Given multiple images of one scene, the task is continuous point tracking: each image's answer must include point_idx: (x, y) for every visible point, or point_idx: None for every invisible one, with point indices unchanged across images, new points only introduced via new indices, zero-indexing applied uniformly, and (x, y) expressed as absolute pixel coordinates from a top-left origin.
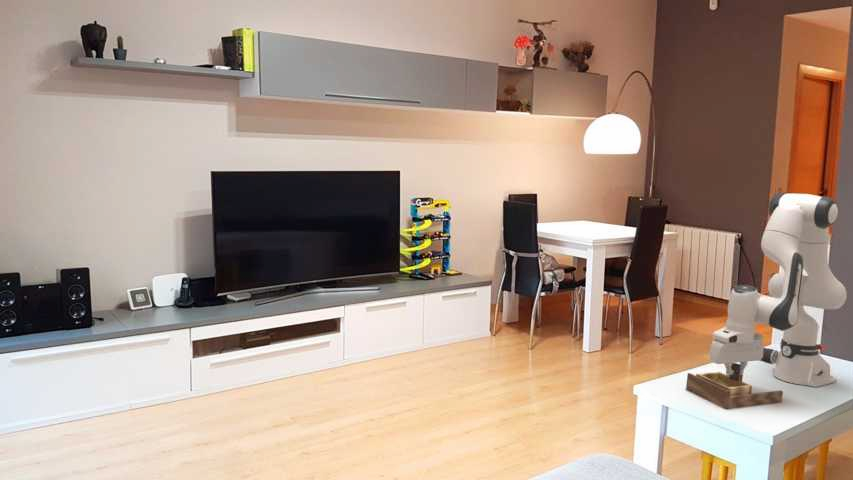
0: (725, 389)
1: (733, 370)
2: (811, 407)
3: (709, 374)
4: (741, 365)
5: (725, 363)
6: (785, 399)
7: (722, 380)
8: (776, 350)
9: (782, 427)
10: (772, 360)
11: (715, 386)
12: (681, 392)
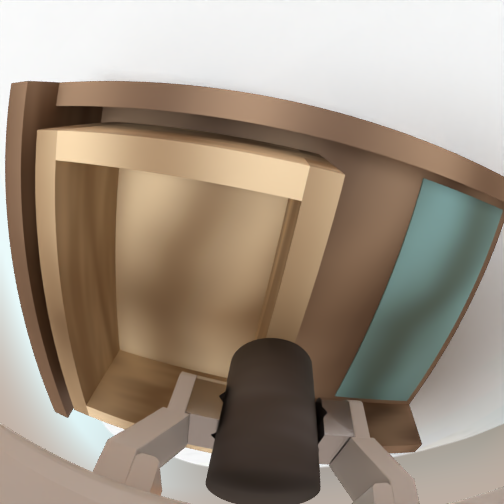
0: (59, 399)
1: (210, 446)
2: (456, 426)
3: (159, 172)
4: (360, 474)
5: (105, 460)
6: (483, 368)
7: (285, 237)
8: None
9: (198, 462)
10: None
11: (35, 351)
12: (87, 75)
